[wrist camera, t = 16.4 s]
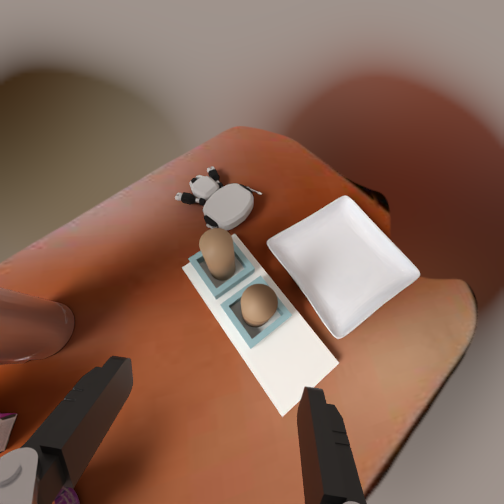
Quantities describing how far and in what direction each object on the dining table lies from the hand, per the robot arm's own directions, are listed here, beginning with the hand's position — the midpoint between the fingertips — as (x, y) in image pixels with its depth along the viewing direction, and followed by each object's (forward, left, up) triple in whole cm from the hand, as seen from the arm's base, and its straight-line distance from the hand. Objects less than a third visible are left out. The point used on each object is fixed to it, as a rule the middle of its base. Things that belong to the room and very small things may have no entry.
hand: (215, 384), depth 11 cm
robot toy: (+15, +27, -31) cm, 44 cm away
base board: (+7, +4, -31) cm, 32 cm away
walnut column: (+7, +4, -29) cm, 30 cm away
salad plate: (+26, +2, -31) cm, 41 cm away
